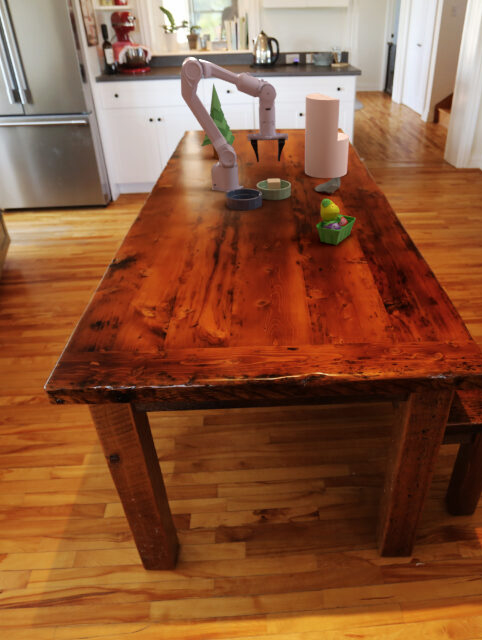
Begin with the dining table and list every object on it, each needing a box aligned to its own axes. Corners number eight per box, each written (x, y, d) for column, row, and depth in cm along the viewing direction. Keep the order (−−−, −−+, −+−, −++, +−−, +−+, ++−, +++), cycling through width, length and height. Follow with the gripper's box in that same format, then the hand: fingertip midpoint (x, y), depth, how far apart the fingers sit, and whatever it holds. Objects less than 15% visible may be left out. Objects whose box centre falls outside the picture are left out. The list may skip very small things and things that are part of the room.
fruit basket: (338, 247, 138) (340, 209, 131) (310, 241, 142) (311, 203, 135) (355, 234, 146) (358, 197, 139) (329, 228, 149) (330, 192, 143)
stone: (319, 200, 174) (346, 191, 173) (316, 189, 172) (343, 180, 171) (315, 193, 183) (341, 184, 182) (312, 183, 181) (338, 174, 180)
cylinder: (316, 180, 190) (318, 101, 174) (297, 169, 203) (298, 94, 187) (354, 174, 196) (360, 97, 180) (334, 164, 209) (337, 91, 193)
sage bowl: (251, 198, 173) (250, 187, 171) (267, 188, 182) (266, 177, 180) (281, 203, 168) (281, 191, 166) (296, 193, 177) (296, 182, 175)
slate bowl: (219, 208, 165) (218, 196, 162) (238, 197, 174) (237, 186, 171) (251, 214, 160) (250, 202, 158) (268, 202, 169) (268, 191, 167)
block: (268, 196, 173) (267, 182, 170) (267, 192, 177) (267, 178, 174) (280, 196, 173) (280, 182, 170) (279, 192, 177) (279, 178, 174)
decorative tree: (199, 161, 214) (191, 85, 196) (210, 152, 226) (203, 79, 209) (229, 162, 212) (224, 85, 194) (238, 153, 224) (234, 80, 207)
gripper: (246, 123, 167) (248, 164, 175) (288, 123, 168) (288, 163, 176) (246, 119, 173) (248, 159, 181) (287, 119, 174) (287, 158, 181)
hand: (268, 161), depth 178 cm, fingers open, 7 cm apart
